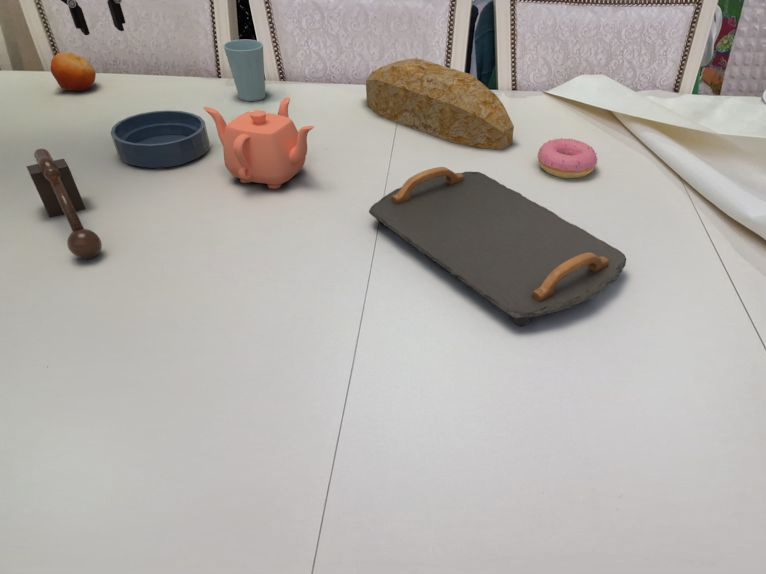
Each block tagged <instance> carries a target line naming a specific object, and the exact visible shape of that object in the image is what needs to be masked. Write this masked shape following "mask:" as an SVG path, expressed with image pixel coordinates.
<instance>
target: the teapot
mask: <svg viewBox="0 0 766 574" xmlns="http://www.w3.org/2000/svg"><path fill="white" fill-rule="evenodd" d="M290 101H291V98H290V97H285V98H283V99H282V100H281V101H280V104H279V107H278V112H277V114H276V113H271V112H266V111H264V110H261V109H257V110H252V111H246V112H244V113H242V114H240V115H238V116H237V117H235V118H234V119H232V120H231V121H229V122H228V123H227V122H226V121H225V118H224V117H223V115H222V114H221V113H220V112H219V111H218V110H216V109H215V108H213V107H209V106H203V110H204V111H205V112H207V113H208V114H209V115H210V117H211V118H212V120H213V121H214V124H215V127H216V130H217V135H218V139H219V140H220V143H221V144H222V151H223V152H222V153H223V161H224V165H225V168H226V169H227V170H228V172H229V173H230V174H231V175H232V176H233V177H236V178H238V179H239V181H240V183H243V184H245V183H246V184H247V183H252V182H253V183H258V184H267V187H268V188H269V189H279V188H281V187H282V184H284V183H286V182H288V181H289V180H291V179H292V178H293V177H294V176H295V175H297V174H298V173H300V171H301V170H302V169H303V167H304V164H305V162H306V156H307V154H308V134H309V132H310V131H312V130H313V129H314V128H315V126H313V125H304V126H301V127H300V128H299V130H298V129H297V127H296V125H295V122H294V121H293V119H292V118H290V116H289V104H290Z"/></svg>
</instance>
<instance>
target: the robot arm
mask: <svg viewBox="0 0 766 574" xmlns="http://www.w3.org/2000/svg"><path fill="white" fill-rule="evenodd" d="M60 1H61V2H62V3H64V4H66V5H67V7H68V9H69V13H70V15H71V19H72V21H73V23H74V28H76V29H77V30H80V31H81V33H82V34H83V35H84V36H89V35H90V34H91V33H90V30H89V25H88V24H87V23H88V22H87V20H86V18H85V14H84V12H83V11H84V10H83V9H82V7H81V6H80V5H79V3H78V2H77V0H60ZM106 3H107V7H108V9H109V14H110V16H111V20H112V23H113V25H114V27H115V29H117V30H118V31H119V32H124V31H125V28H124V24H125V25H126V19H125V15H124V12H123V9H122V5H121V3H122V0H107V1H106Z"/></svg>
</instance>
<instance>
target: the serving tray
mask: <svg viewBox="0 0 766 574" xmlns="http://www.w3.org/2000/svg"><path fill="white" fill-rule="evenodd" d="M368 213H369V214H370V215H371V216H372V217H373V218H374V219H376V222H377V223H378V225H380V226H386V228H388V229H390V230H391V231H392V232H394V233H395V234H397V235H398V236H400V237H401V239H403V240H404V241H406V242H408V243H410V244H411V246H413V247H415V248H416V249H417V250H418V251H419V252H421V253H423V254H424V255H425V256H427V257H428V258H430V259H431V261H434V262H435V263H437V264H438V265H439V266H440V267H441V268H444V269H445V270H446V271H448V272H449V273H450V274H451V275H452V276H454V277H455V278H457V279H459V281H461V282H463V283H464V284H465V285H467V286H469V288H471V289H472V290H473V291H475V292H476V293H478V295H480V296H481V297H484V298H485V299H486V300H488V301H489V302H490V303H492V305H494V306H496V307H497V308H499V309H500V310H501V311H502V312H504V313H505V314H507V315H508V316H510V317H512V318H513V321H514V322H515V325H516V326H518V327H524V326H526V325H527V324H528V323H529V322H530V320H531V318H532V317H533V318H534V317H541V316H544V315H547V314H552V313H556V312H561V311H565V310H567V309H569V308H571V307H574V306H576V305H579V304H582V303H584V302H587V301H589V300H591V299H594V298H596V297H597V296H598V295H599V294H601V293H602V292H604V291H606V289H607V288H608V287H609V286H610V285H611V284H613V283H614V282H615V281H617V279H618V278H619V276H620V274H621V273H622V272H623V269H624V268H625V267H626V265H627V257H626V254H625V253H624V252H622V251H621V250H619V249H618V248H616V247H614V246H612V245H610V244H609V243H607V242H606V241H604V240H601V239H600V238H598V237H596V236H594V235H593V234H591V233H590V232H588V231H587V230H586V229H583V228H581V227H579V226H578V225H576V224H574V223H571V222H569V221H567V220H565V219H564V218H562V217H560V216H559V215H558V214H556V213H555V212H554V211H552V210H549V209H548V208H546V206H545V207H544V206H542V205H540V204H538V203H537V202H535V201H532V200H531V199H530V198H528V197H526V196H524V195H523V194H522V193H520V192H518V191H515V190H514V189H511V188H510V187H507V186H506V185H504V184H502V183H500V182H499V181H497V180H496V179H494V178H492V177H489V176H488V175H487V174H484V173H482V172H480V171H464V172H463V171H462V172H453V170H451V169H450V168H448V167H445V166H437V167H433V168H429V169H425V170H423V171H421V172H418V173H416V174H414V175H413V176H411V177H409V178H408V179H407V180H406V181H405V182H404V183H403V184H402V185H401V187H398V188H395V189H394V190H392V191H391V192H389V193H388V194H386V195H384V196H383V197H382V198H380V200H378V201H377V202H375V203H373V204H372V206H371V207H370V208H369V210H368Z"/></svg>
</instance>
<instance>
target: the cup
mask: <svg viewBox="0 0 766 574" xmlns="http://www.w3.org/2000/svg"><path fill="white" fill-rule="evenodd" d="M223 49H224V52H225V56H226V58H227V59H226V60H227V62H228V65H229V68H230V72H231V75H232V78H233V82H234V85H235V88H236V92H237V95H238V97H239V99H240V100H242V101H245V102H257V101H261V100H264V99H265V98H266V96H267V95H266V94H267V93H266V79H265V78H266V77H265V76H266V75H265V60H264V44H263V43H262V42H261V41H259V40H256V39H246V38H245V39H242V38H241V39H234V40H230V41H227V42H225V43H224V44H223Z"/></svg>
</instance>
